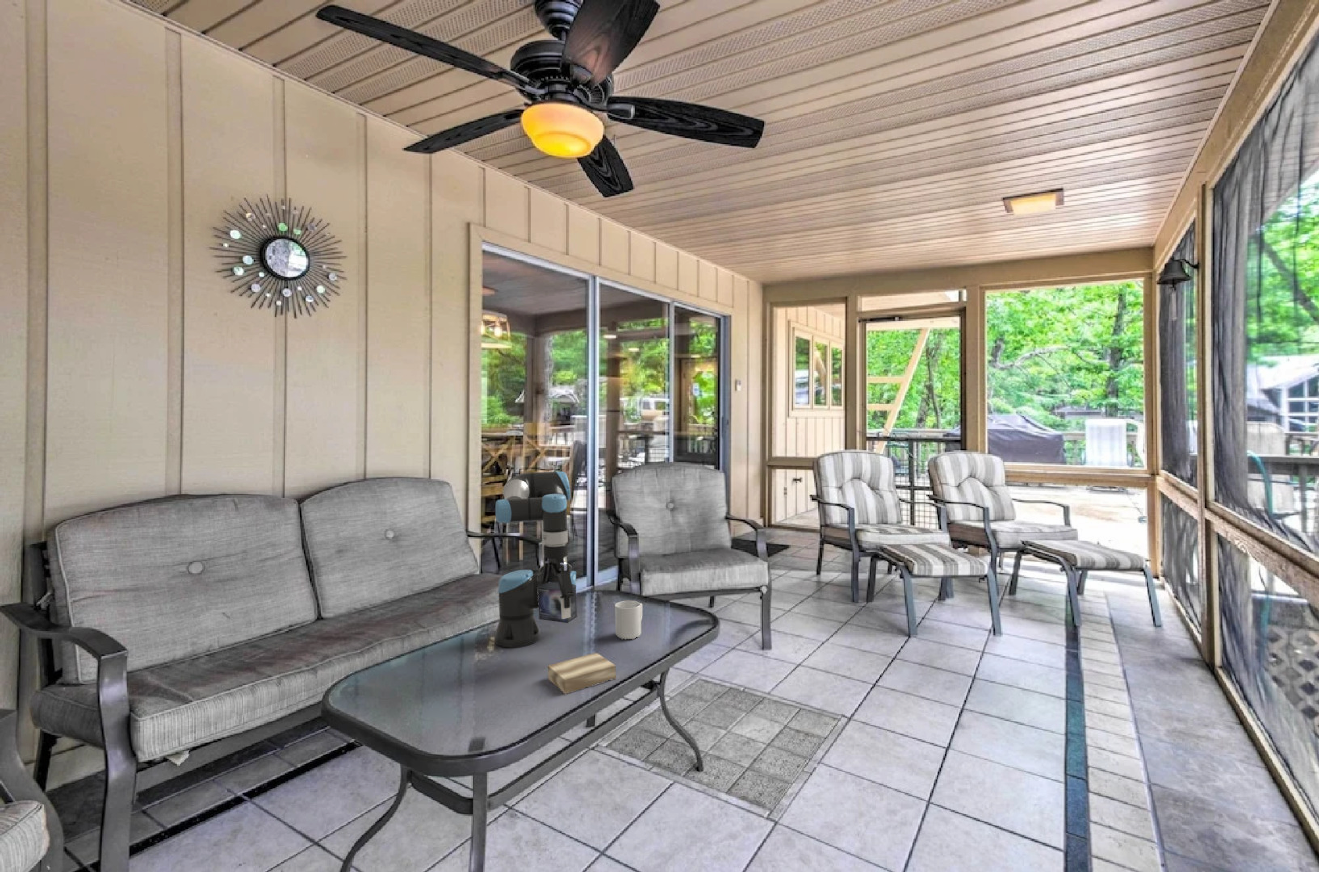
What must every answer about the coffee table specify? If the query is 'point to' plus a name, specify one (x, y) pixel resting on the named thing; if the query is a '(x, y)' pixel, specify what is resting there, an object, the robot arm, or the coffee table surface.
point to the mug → (628, 619)
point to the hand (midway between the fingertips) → (557, 612)
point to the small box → (554, 603)
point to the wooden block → (581, 672)
